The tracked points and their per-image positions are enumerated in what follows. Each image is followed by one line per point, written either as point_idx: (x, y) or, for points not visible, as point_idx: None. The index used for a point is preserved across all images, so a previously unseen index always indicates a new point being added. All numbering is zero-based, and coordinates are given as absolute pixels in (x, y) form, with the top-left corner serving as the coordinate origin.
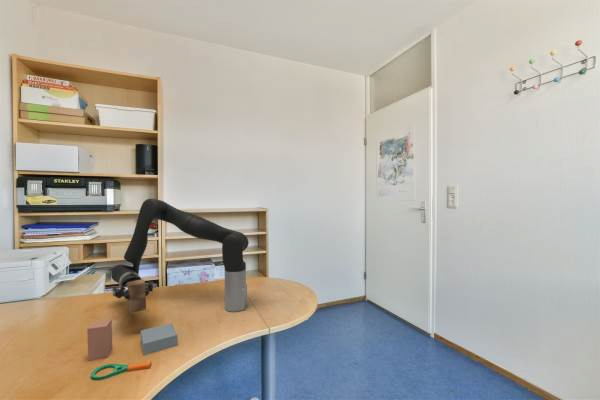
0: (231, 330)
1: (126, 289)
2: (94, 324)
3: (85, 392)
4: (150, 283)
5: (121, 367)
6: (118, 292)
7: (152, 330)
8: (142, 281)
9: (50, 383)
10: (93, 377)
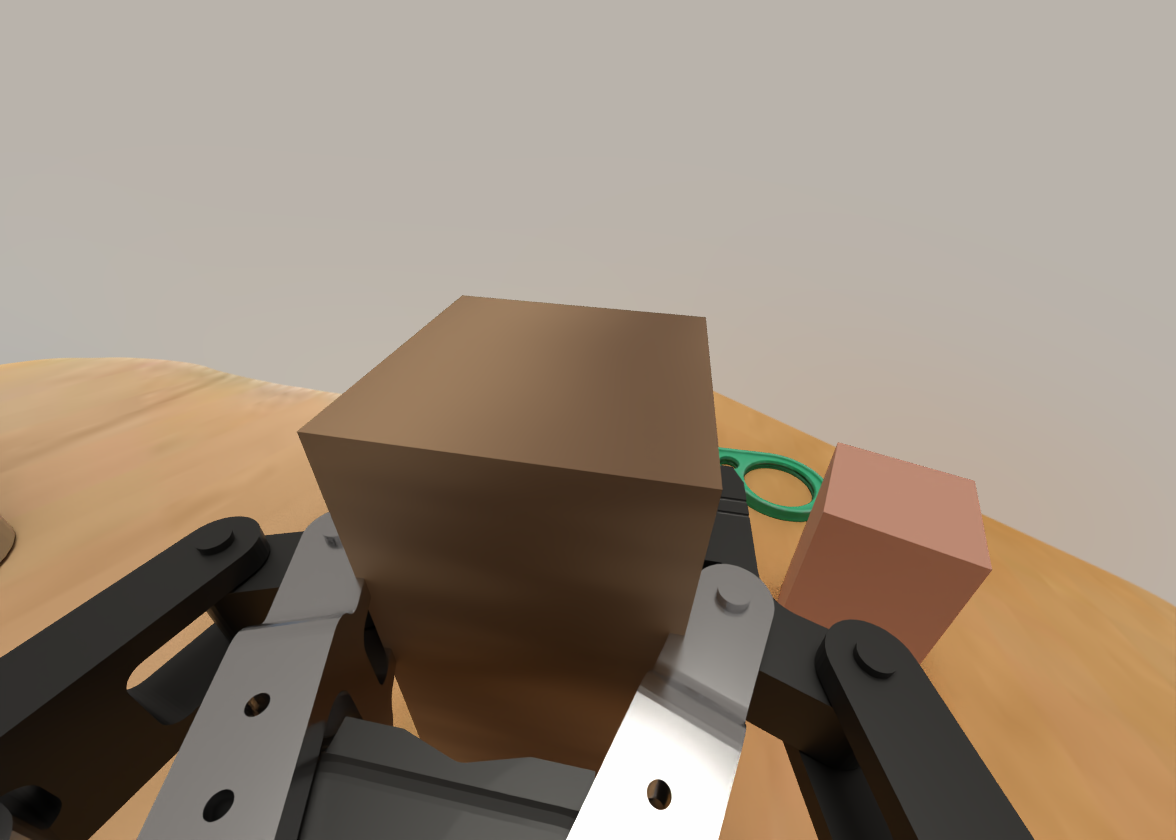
0: (288, 427)
1: (707, 652)
2: (947, 509)
3: (823, 446)
4: (78, 648)
5: None
6: (881, 642)
7: None
8: (446, 336)
9: (993, 558)
10: (815, 473)
